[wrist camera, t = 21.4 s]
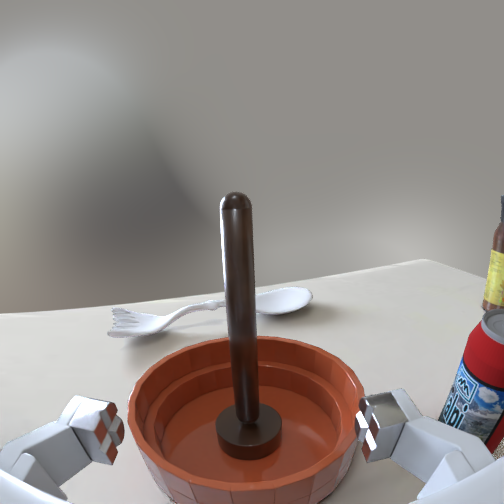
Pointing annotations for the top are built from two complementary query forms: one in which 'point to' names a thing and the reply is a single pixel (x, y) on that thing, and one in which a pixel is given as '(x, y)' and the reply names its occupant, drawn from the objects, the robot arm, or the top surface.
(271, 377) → the bowl
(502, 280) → the sauce bottle
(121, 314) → the spoon
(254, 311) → the brown rod on stand
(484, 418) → the beverage can
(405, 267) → the top surface
